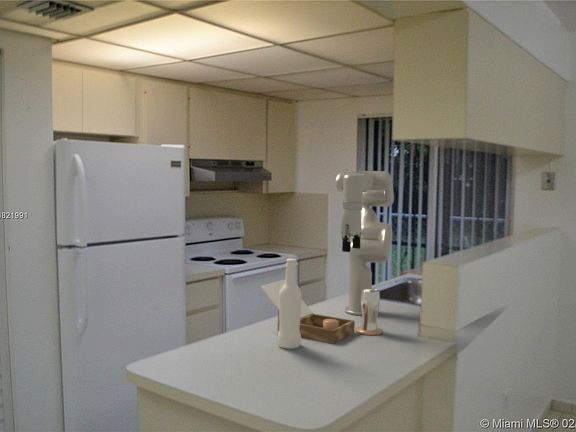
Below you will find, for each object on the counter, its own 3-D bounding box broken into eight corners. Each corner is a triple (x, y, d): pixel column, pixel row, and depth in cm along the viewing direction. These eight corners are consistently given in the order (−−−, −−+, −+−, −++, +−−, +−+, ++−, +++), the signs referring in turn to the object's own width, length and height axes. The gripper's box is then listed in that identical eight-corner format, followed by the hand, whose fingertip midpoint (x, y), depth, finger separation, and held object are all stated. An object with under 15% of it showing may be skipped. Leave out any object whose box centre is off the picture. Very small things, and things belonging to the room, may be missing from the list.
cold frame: (312, 324, 215) (312, 313, 215) (354, 332, 205) (354, 320, 205) (289, 334, 201) (289, 322, 200) (333, 343, 191) (333, 330, 191)
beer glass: (379, 332, 204) (381, 292, 203) (361, 331, 204) (362, 292, 203) (377, 327, 211) (378, 288, 210) (359, 326, 211) (360, 288, 210)
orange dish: (362, 326, 214) (362, 324, 214) (386, 331, 209) (386, 329, 209) (351, 332, 206) (351, 330, 205) (376, 337, 200) (376, 335, 200)
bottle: (272, 346, 185) (275, 259, 183) (284, 341, 193) (286, 256, 191) (294, 351, 182) (296, 261, 180) (304, 344, 189) (307, 258, 187)
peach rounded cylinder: (327, 334, 203) (327, 318, 202) (340, 336, 200) (341, 320, 199) (320, 337, 198) (320, 321, 198) (333, 340, 195) (334, 323, 195)
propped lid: (282, 319, 222) (283, 279, 221) (313, 324, 215) (314, 283, 214) (258, 328, 208) (259, 285, 207) (290, 334, 201) (291, 290, 199)
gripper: (352, 204, 221) (351, 246, 223) (334, 207, 206) (333, 252, 208) (369, 205, 217) (368, 248, 219) (352, 208, 202) (351, 254, 204)
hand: (351, 249), depth 213 cm, fingers open, 9 cm apart
